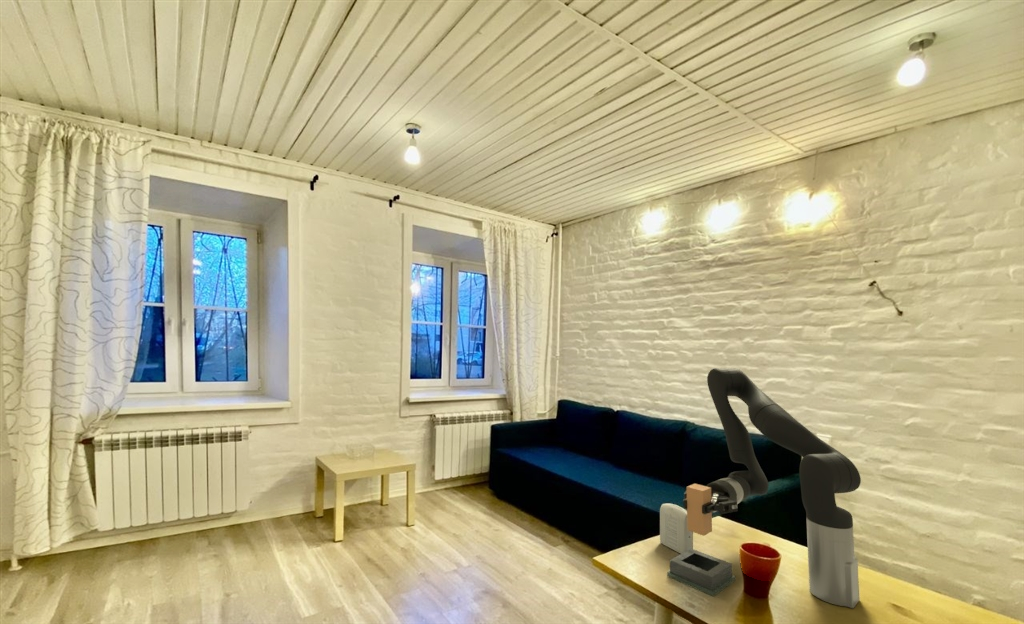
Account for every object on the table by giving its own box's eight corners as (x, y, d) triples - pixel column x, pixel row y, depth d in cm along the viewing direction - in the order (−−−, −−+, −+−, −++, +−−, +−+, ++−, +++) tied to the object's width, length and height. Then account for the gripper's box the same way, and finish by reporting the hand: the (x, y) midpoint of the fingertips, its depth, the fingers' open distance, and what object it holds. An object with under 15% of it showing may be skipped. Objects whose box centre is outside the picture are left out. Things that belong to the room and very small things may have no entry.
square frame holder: (735, 580, 111) (734, 563, 112) (713, 596, 104) (713, 578, 104) (690, 562, 121) (690, 547, 121) (667, 576, 113) (667, 559, 113)
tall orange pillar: (712, 531, 113) (711, 487, 114) (703, 535, 110) (702, 491, 111) (695, 525, 117) (694, 483, 117) (687, 530, 114) (686, 486, 115)
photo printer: (695, 554, 126) (695, 509, 127) (685, 557, 124) (684, 512, 125) (667, 540, 135) (667, 499, 136) (657, 543, 133) (657, 501, 134)
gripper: (699, 474, 129) (668, 485, 118) (750, 486, 118) (721, 499, 107) (699, 500, 128) (668, 513, 117) (751, 515, 117) (722, 531, 106)
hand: (694, 507), depth 112 cm, fingers closed on tall orange pillar, 4 cm apart
